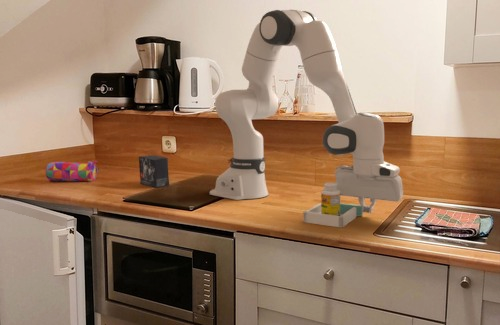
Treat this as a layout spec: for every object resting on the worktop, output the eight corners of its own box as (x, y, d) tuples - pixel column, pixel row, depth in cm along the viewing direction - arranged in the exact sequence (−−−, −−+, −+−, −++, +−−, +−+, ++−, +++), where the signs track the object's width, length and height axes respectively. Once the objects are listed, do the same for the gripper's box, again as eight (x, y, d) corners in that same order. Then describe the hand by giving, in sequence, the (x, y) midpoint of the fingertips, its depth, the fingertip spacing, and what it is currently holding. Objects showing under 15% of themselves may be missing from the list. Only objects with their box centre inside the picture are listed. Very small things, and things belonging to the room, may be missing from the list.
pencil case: (100, 178, 212) (99, 159, 211) (93, 182, 203) (92, 162, 201) (53, 179, 212) (52, 160, 211) (44, 183, 203) (42, 163, 202)
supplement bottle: (318, 215, 140) (318, 182, 139) (335, 214, 141) (336, 181, 140) (325, 220, 135) (325, 186, 133) (343, 219, 136) (343, 185, 134)
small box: (139, 184, 198) (138, 156, 196) (153, 181, 202) (152, 154, 200) (155, 188, 188) (153, 159, 186) (169, 185, 192) (168, 157, 191)
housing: (303, 222, 136) (303, 212, 136) (319, 212, 146) (319, 203, 146) (342, 227, 130) (342, 217, 130) (356, 217, 140) (356, 207, 140)
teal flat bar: (327, 211, 146) (327, 202, 146) (329, 210, 147) (329, 201, 147) (361, 216, 141) (361, 206, 140) (362, 215, 141) (362, 205, 141)
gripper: (331, 166, 141) (331, 210, 143) (399, 171, 130) (398, 219, 132) (339, 163, 146) (338, 205, 148) (405, 168, 135) (403, 213, 138)
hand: (367, 212), depth 140 cm, fingers closed
